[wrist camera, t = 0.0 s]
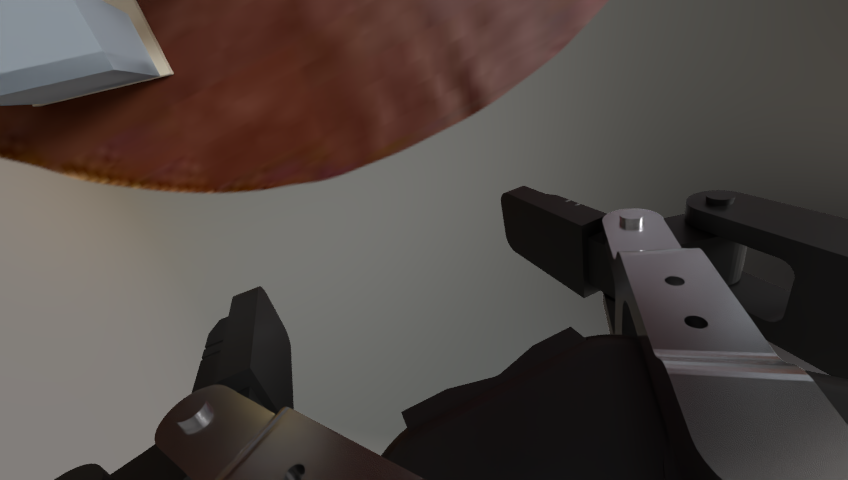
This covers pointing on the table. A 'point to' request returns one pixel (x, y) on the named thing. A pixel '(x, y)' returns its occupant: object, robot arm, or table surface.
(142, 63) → the socket
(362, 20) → the table surface
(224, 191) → the table surface
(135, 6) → the board
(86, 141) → the table surface
